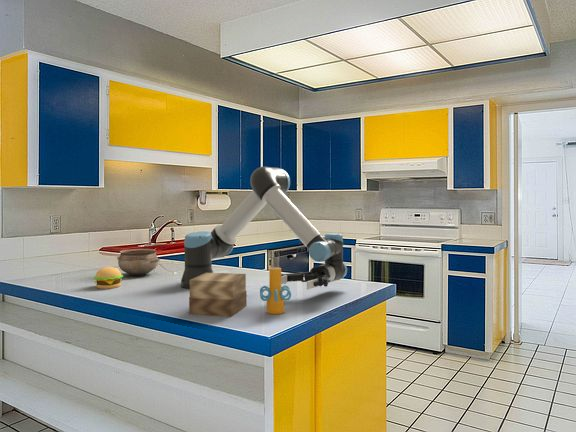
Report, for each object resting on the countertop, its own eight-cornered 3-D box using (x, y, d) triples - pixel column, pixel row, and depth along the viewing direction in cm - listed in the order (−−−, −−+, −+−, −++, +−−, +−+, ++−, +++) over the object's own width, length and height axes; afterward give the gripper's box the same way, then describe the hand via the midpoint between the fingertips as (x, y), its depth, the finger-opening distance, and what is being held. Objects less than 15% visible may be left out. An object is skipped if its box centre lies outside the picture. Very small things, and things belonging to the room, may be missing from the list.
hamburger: (128, 285, 204) (128, 265, 204) (111, 290, 193) (111, 270, 192) (105, 283, 207) (105, 264, 207) (87, 288, 196) (87, 268, 196)
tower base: (189, 315, 154) (189, 297, 153) (207, 304, 168) (207, 288, 168) (231, 318, 150) (231, 299, 150) (246, 307, 164) (246, 290, 164)
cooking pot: (170, 273, 234) (170, 249, 233) (147, 280, 216) (146, 254, 215) (130, 270, 242) (130, 247, 242) (104, 276, 225) (104, 252, 224)
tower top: (189, 298, 153) (189, 280, 152) (206, 288, 167) (206, 272, 167) (232, 299, 150) (232, 281, 150) (245, 290, 164) (245, 273, 164)
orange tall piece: (259, 308, 161) (259, 265, 161) (289, 307, 162) (288, 265, 162) (260, 317, 149) (260, 271, 148) (292, 316, 150) (292, 271, 149)
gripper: (350, 287, 174) (321, 298, 156) (295, 281, 188) (263, 290, 171) (350, 268, 173) (321, 276, 156) (295, 262, 188) (263, 269, 170)
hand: (291, 283), depth 163 cm, fingers open, 13 cm apart
